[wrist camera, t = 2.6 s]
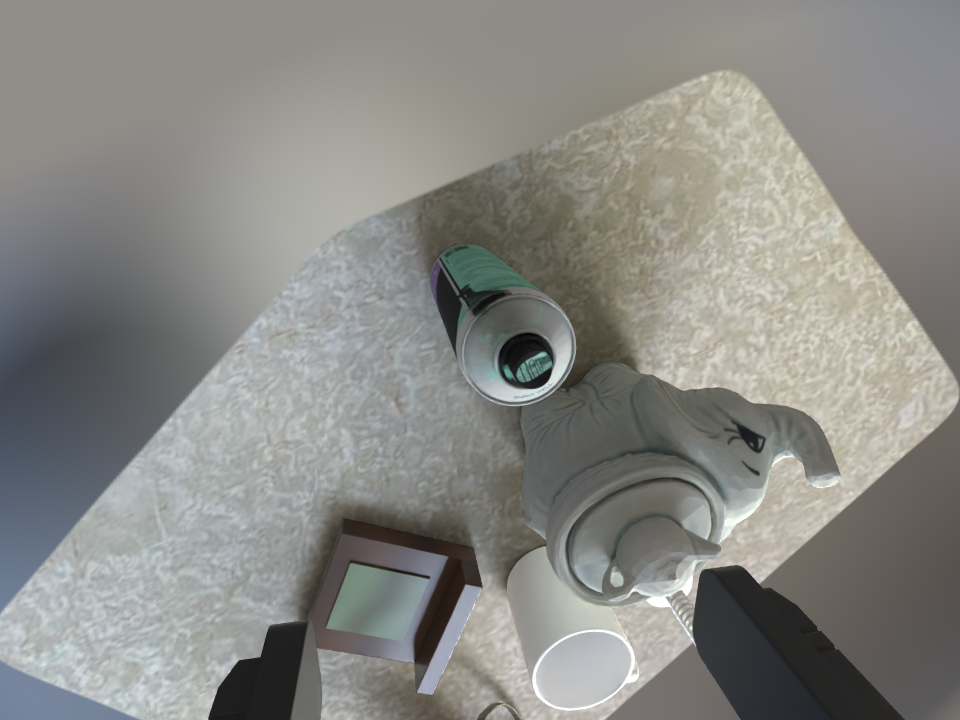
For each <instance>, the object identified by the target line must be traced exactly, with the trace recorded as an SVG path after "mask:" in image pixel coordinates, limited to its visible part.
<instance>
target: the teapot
mask: <svg viewBox="0 0 960 720" xmlns="http://www.w3.org/2000/svg"><path fill="white" fill-rule="evenodd" d="M520 425H521V430H522V434H523V437H524V439H525V451H526V459H525V465H524V472H523V478H522V497H523V507H524V509H523V512H522V518H523V522H524V523H525V524H526V526H528V527H529V528H531V529H532V530H534V531H535V532H537V533H538V534H540V535H541V536H542V537H543V538H544V539H545V540H546V550H547V557H548V560H549V562H550V564H551V566H552V568H553V570H554V573H555V574H556V576H557V577H558V579H559V580H560V581H561V583H562V584H563V585H564V586H565V587H566V588H567V590H568V591H569V592H570V593H571V594H572V595H573V596H574V597H576V598H577V599H579V600H580V601H583V602H585V603H588V604H592V605H595V606H602V607H614V608H616V607H623V606H628V605H633V604H638V603H641V602H644V601H646V600H649V599H651V598H662V597H666V596H671V595H673V594H674V593H676V592H677V591H679V590H681V589H682V588H684V587H685V585H686V584H687V582H688V581H689V579H690V578H691V577H692V576H693V575H695V574H696V573H697V572H698V571H699V570H701V569H702V568H703V567H704V566H705V565H706V564H707V563H708V561H709V560H711V559H715V558H719V556H720V555H721V547H720V546H719V543H720V541H721V540H723V539H725V538H726V537H727V536H728V535H729V534H730V532H731V531H732V529H733V528H734V526H735V525H736V523H737V522H739V521H741V520H743V519H745V518H747V517H748V516H750V515H751V514H752V513H753V512H754V511H755V510H756V509H757V507H758V506H759V505H760V503H761V502H762V500H763V497H764V495H765V492H766V489H767V485H768V480H769V475H770V470H771V468H772V466H773V465H774V464H775V463H776V462H777V461H779V460H781V459H782V458H784V457H794V458H796V459H797V460H799V461H800V462H802V463H803V465H804V469H805V474H806V478H807V479H808V481H809V482H810V483H811V484H812V485H814V486H815V487H823V488H825V487H828V486H832V485H834V484H836V483H837V482H839V481H840V472H839V469H838V466H837V464H836V461H835V458H834V456H833V453H832V450H831V447H830V445H829V443H828V441H827V439H826V436H825V434H824V432H823V431H822V429H821V427H820V426H819V424H817V423H816V422H815V421H814V420H813V419H812V418H811V417H810V416H808V415H807V414H805V413H804V412H802V411H800V410H797V409H794V408H791V407H788V406H782V405H773V404H754V403H751V402H749V401H747V400H746V399H745V398H743V397H742V396H741V395H739V394H738V393H736V392H733V391H731V390H728V389H725V388H719V387H718V388H703V389H690V390H686V391H682V390H679V389H678V388H676V387H674V386H673V385H671V384H669V383H667V382H665V381H663V380H661V379H659V378H657V377H655V376H654V375H650V374H649V375H646V374H641V373H640V372H639V371H637V370H636V369H634V368H633V367H631V366H629V365H627V364H624V363H621V362H605V363H601V364H599V365H596V366H594V367H592V369H591V370H590V371H589V372H588V373H587V374H586V375H585V377H584V378H583V379H582V381H581V382H580V383H578V384H577V385H575V386H573V387H571V388H558V389H556V390H555V391H554V392H553V393H552V394H550V395H549V396H547V397H545V398H544V399H542V400H540V401H537V402H535V403H532V404H528V405H523V406H522V408H521V416H520Z"/></svg>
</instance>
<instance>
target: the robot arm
mask: <svg viewBox="0 0 960 720" xmlns="http://www.w3.org/2000/svg"><path fill="white" fill-rule="evenodd" d="M692 631H693V638H694V642H695V645H696V648H697V650H698V653H699V655H700V657H701V658H702V660H703V662H704V663H705V664H706V666H707V668H708V669H709V671H710V673H711V674H712V676H713V677H714V679H715V680H716V682H717V683H718V685H719V687H720V688H721V690H722V691H723V693H724V694H725V696H726V697H727V699H728V700H729V702H730V704H731V705H732V707H733V708H734V710H735V711H736V713H737V714H738V716H739V718H740V719H741V720H904V719H903V718H902V716H901V715H900V714H899V713H898V712H897V711H896V710H895V709H894V708H893V707H892V706H891V705H890V704H889V703H888V702H887V700H886V699H885V698H884V697H883V696H882V695H881V694H880V693H879V692H878V691H877V690H876V689H875V688H874V687H873V686H872V685H871V684H870V682H868V680H867V679H866V678H865V677H864V676H863V675H862V674H861V673H860V672H859V671H858V670H857V669H856V668H855V667H854V665H853V664H852V663H851V662H850V661H849V660H848V659H847V658H846V657H845V656H844V655H843V654H842V653H841V652H840V651H839V650H836V649H835V648H834V645H833V643H832V642H831V641H830V640H829V639H828V638H827V637H826V636H825V635H824V634H823V633H822V632H821V631H818V630H817V626H816V625H815V624H814V623H813V622H812V621H811V620H810V619H809V618H808V617H807V616H806V615H805V614H804V613H803V611H802V610H801V609H800V608H799V607H798V606H797V605H796V604H794V603H792V602H791V601H789V600H788V599H786V598H785V597H783V596H782V595H780V594H779V593H777V592H776V591H774V590H773V589H771V588H765V589H763V588H762V587H761V586H760V585H759V584H758V583H757V581H756V580H755V579H754V578H753V577H752V576H751V575H750V574H749V573H748V571H747V570H745V569H744V568H743V567H741V566H739V565H734V566H727V567H719V568H711V569H705V570H703V571H702V572H701V574H700V577H699V583H698V590H697V597H696V603H695V610H694V616H693V623H692ZM321 709H322V682H321V674H320V667H319V660H318V654H317V647H316V640H315V634H314V627H313V623H312V621H311V620H304V621H297V622H289V623H282V624H274V625H271V626H270V627H269V629H268V631H267V635H266V639H265V642H264V646H263V650H262V654H261V657H259V658H252V659H244V660H239V661H238V662H237V664H236V665H235V666H234V668H233V669H232V670H231V672H230V673H229V674H228V675H227V677H226V678H225V679H224V681H223V682H222V683H221V685H220V686H219V687H218V690H217V693H216V696H215V699H214V702H213V705H212V708H211V711H210V714H209V717H208V720H320V719H321Z"/></svg>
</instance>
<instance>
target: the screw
mask: <svg viewBox="0 0 960 720" xmlns="http://www.w3.org/2000/svg"><path fill="white" fill-rule="evenodd" d="M691 586H692V577H691V578H690V579H689V581H688V582H687V584H686V585H685V587H684V588H682V589H681V590H679V591H677V592H676V593H674V594H673V595H671V596H666V597H662V598H651V599H649V600H647V601H648V602H649V603H651V604H652V605H654V606H659V607H666V606H670V608H671V609H672V610H673V612H674V614H675V615H676V616H677V618H678V619H679V620H680V623H681V624H682V625H683V627H684V629H685V630H686V631H687V634H688V635H689V636H690V638H691V640H692V641H693V642H694V638H693V631H692V623H693V616H694V610H695V608H694V605H693V604H692V603H690V599H689V598H687V594H688V592H689V591H690V588H691ZM694 644H695V642H694ZM695 646H696V645H695Z"/></svg>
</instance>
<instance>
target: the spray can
mask: <svg viewBox="0 0 960 720" xmlns="http://www.w3.org/2000/svg"><path fill="white" fill-rule="evenodd" d="M430 284H431V290H432V293H433V296H434V299H435V301H436V304H437V307H438V309H439V312H440V315H441V317H442V320H443V323H444V325H445V328H446V331H447V333H448V336H449V339H450V342H451V344H452V347H453V350H454V352H455V355H456V358H457V360H458V363H459V366H460V368H461V371H462V373H463V375H464V376H465V378H466V380H467V381H468V382H469V383H470V384H471V386H472V387H473V388H474V389H475V390H476V391H477V392H478V393H479V394H480V395H482V396H483V397H485V398H486V399H488V400H490V401H492V402H494V403H497V404H501V405H506V406H523V405H528V404H532V403H535V402H537V401H540V400H542V399H544V398H545V397H547V396H549V395H550V394H552V393H553V392H554V391H555V390H556V389H558V388H559V386H560V385H561V384H562V383H563V382H564V380H565V379H566V377H567V376H568V374H569V372H570V371H571V368H572V365H573V362H574V360H575V353H576V338H575V334H574V330H573V327H572V325H571V323H570V321H569V319H568V317H567V316H566V314H565V312H564V311H563V310H562V309H561V307H560V306H559V305H558V304H557V303H556V302H555V301H554V300H552V299H551V298H550V297H549V296H547V295H546V294H545V293H543V292H542V291H541V290H539V289H538V288H537V287H536V286H534V285H533V284H532V283H530V282H529V281H528V280H526V279H525V278H524V277H522V276H521V275H520V274H519V273H517V272H516V271H515V270H513V269H512V268H511V267H509V266H508V265H507V264H505V263H504V262H503V261H501V260H500V259H499V258H498V257H496V256H495V255H494V254H492V253H491V252H490V251H488V250H487V249H485V248H483V247H481V246H479V245H475V244H468V243H464V244H458V245H455V246H452V247H450V248H448V249H447V250H445V251H444V252H443V253H442V254H441V255H440V256H439V257H438V258H437V260H436V261H435V263H434V265H433V267H432V271H431V276H430Z"/></svg>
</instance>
